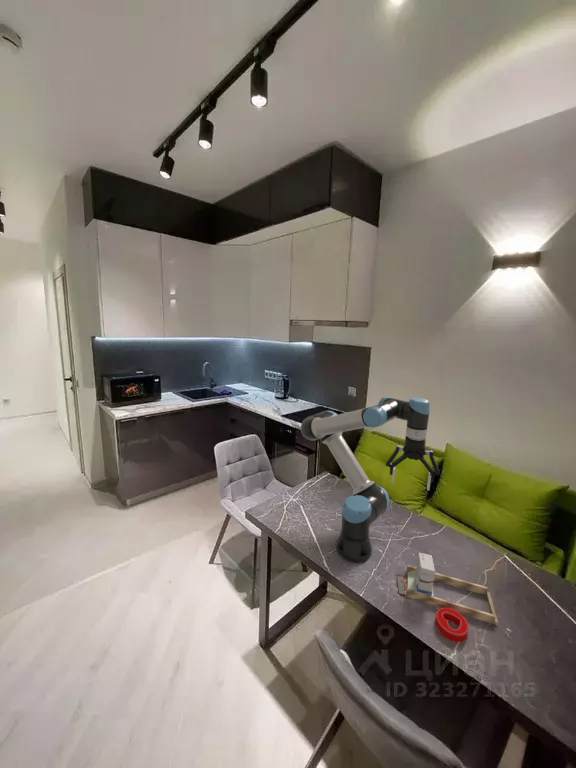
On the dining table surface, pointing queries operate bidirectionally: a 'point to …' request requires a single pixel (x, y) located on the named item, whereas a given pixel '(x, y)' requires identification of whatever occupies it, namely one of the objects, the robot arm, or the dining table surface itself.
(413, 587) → the front pad
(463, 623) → the decorative ornament
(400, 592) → the chocolate bar
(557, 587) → the dining table surface
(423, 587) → the ink box
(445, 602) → the bay
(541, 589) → the dining table surface
